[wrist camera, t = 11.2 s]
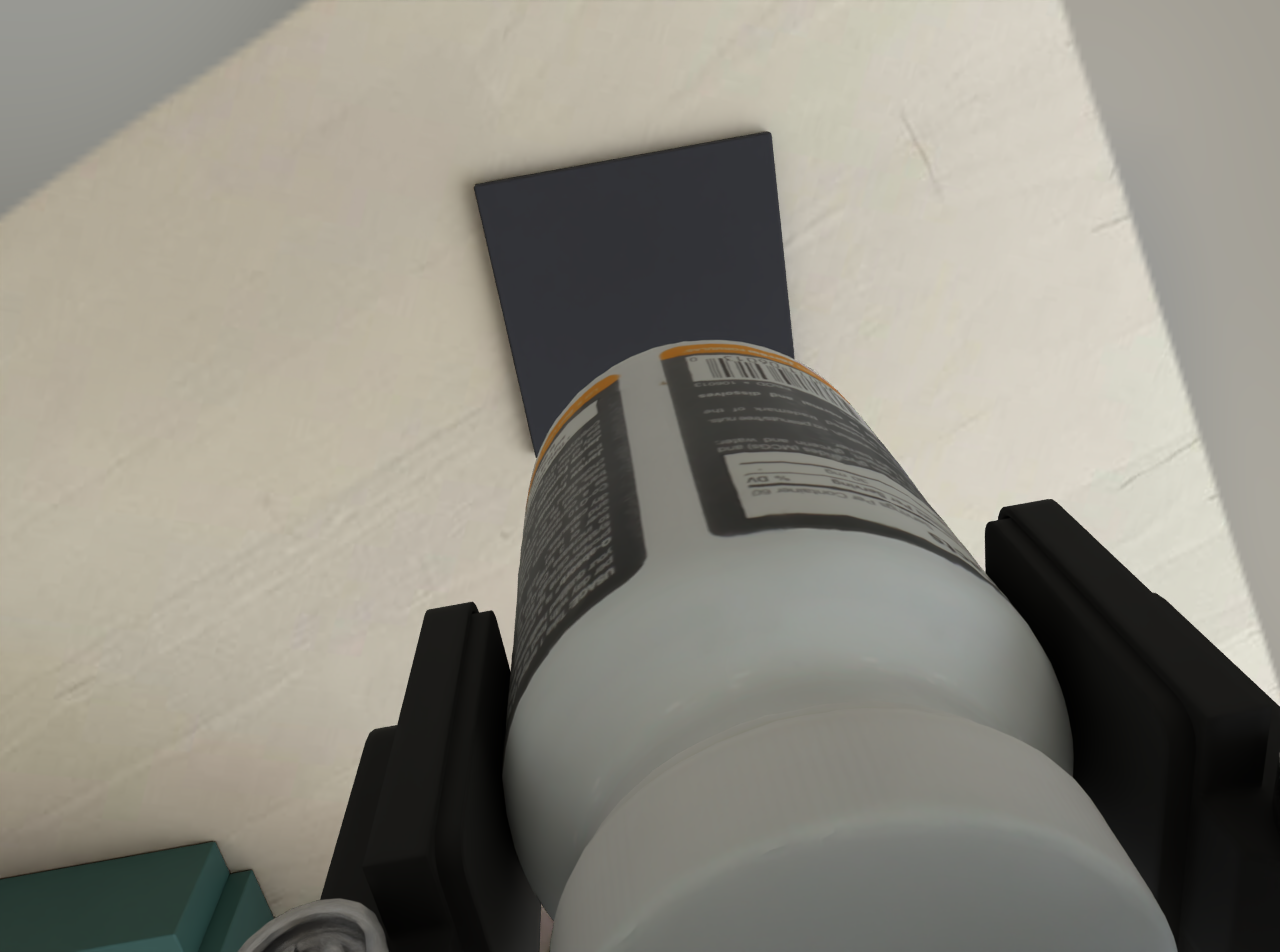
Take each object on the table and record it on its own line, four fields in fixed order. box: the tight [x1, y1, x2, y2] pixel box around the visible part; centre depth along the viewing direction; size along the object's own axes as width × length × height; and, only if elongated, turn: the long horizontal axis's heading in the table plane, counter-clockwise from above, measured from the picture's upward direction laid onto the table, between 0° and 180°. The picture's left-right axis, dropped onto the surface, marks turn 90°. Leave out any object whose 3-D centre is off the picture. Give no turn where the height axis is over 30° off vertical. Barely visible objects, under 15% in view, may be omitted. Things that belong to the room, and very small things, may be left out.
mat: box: [474, 132, 794, 458], centre depth 27 cm, size 8×8×1 cm
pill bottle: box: [502, 340, 1178, 952], centre depth 12 cm, size 6×6×10 cm
